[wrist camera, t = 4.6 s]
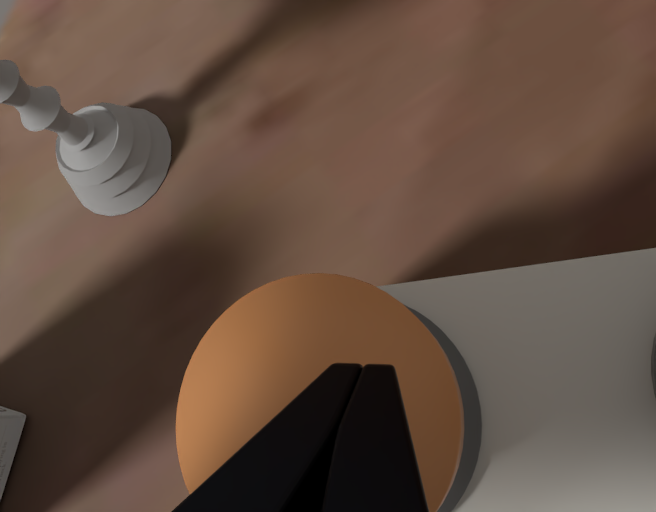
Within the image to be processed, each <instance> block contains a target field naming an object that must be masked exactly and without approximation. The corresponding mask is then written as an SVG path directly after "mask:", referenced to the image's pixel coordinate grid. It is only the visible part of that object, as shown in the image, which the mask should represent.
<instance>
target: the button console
mask: <svg viewBox="0 0 656 512" xmlns="http://www.w3.org/2000/svg"><path fill="white" fill-rule="evenodd" d="M377 288H379V289H381V290H383V291H385V292H387V293H388V294H389V295H391V296H392V297H394V298H395V299H397V300H398V301H399V302H401V303H402V304H403V305H404V306H405V307H406V308H408V309H409V310H410V311H411V312H412V313H413V314H414V315H415V316H416V317H417V318H418V319H419V320H420V321H421V322H422V323H423V324H424V325H425V326H426V327H427V329H428V330H429V331H430V332H431V333H432V335H433V336H434V337H435V338H436V339H437V341H438V342H439V344H440V346H441V347H442V349H443V350H444V352H445V354H446V355H447V357H448V359H449V362H450V364H451V366H452V368H453V370H454V372H455V376H456V379H457V382H458V385H459V388H460V392H461V398H462V404H463V409H464V440H463V449H462V454H461V459H460V463H459V468H458V470H457V473H456V476H455V479H454V482H453V484H452V487H451V488H450V490H449V492H448V494H447V496H446V498H445V500H444V502H443V504H442V505H441V506H440V508H439V509H438V511H437V512H656V248H651V249H643V250H636V251H629V252H622V253H615V254H608V255H600V256H593V257H586V258H579V259H572V260H565V261H557V262H550V263H543V264H536V265H529V266H521V267H514V268H507V269H500V270H493V271H486V272H478V273H471V274H464V275H457V276H450V277H443V278H435V279H428V280H421V281H414V282H407V283H399V284H392V285H385V286H378V287H377Z"/></svg>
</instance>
